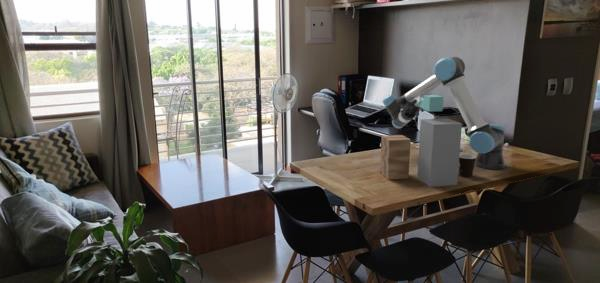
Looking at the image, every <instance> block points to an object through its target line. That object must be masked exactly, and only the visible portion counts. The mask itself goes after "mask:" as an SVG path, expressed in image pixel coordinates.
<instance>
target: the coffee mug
mask: <svg viewBox="0 0 600 283" xmlns="http://www.w3.org/2000/svg"><path fill="white" fill-rule="evenodd" d="M476 157H477V156H475V155H472V154H460V155H459V168H458V177H459V176H460V177H463V178H472V177H473V174H474V169H475V166H476V165H475V160H476Z"/></svg>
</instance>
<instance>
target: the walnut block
mask: <svg viewBox="0 0 600 283" xmlns="http://www.w3.org/2000/svg"><path fill="white" fill-rule="evenodd" d="M380 140H381V143H380V144H381V147H380V166H379V167H380V168H379V169H380V171H379V172H380V173H379V174H380V175H381V176H383V177H384V178H386V179H387V180H398V179H399V180H400V179H401V180H402V179H409V178H410V177H409V176H410V158H411V157H410V156H411V138H409V137H406V136H405V135H403V134H394V135H389V134H388V135H381V139H380Z"/></svg>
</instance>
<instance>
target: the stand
mask: <svg viewBox="0 0 600 283" xmlns="http://www.w3.org/2000/svg"><path fill="white" fill-rule="evenodd" d="M462 126H463V123H461V122H458V121H456V120H453V119H450V118H447V117H446V118H425V119H423V118H422V119H420V126H419V144H418V145H419V149H418V159H417V160H418V162H417V179H418V180H420V181H421V182H422V183H423V184H426V185H427V187H429V188H432V187H434V188H435V187H447V186H448V187H449V186H457V185H458V180H459V178H458V177H459V155H461V152H460V151H461V139H462V128H463V127H462Z"/></svg>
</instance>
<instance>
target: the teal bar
mask: <svg viewBox="0 0 600 283" xmlns="http://www.w3.org/2000/svg"><path fill="white" fill-rule="evenodd" d="M415 99H416V98H414V100H415ZM414 106H418V107H420V108H423V110H424V111H426V112H443V110H444V108H443V107H444V96H441V95H437V94H431V95H430V94H427V95H424V97H422V98H421V101H420V102H419V103H418V104H417V105H415V104H414Z"/></svg>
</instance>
